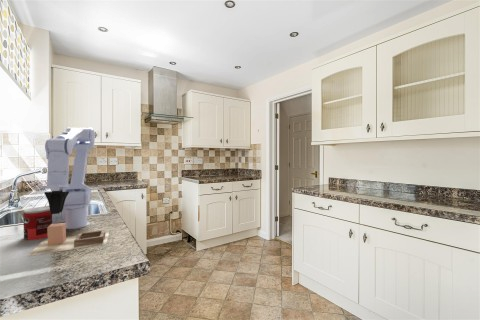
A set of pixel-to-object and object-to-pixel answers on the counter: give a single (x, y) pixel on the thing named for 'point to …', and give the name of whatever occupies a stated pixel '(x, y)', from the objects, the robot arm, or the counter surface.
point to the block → (56, 234)
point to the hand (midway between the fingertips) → (56, 213)
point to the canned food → (36, 222)
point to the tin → (58, 217)
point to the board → (73, 242)
